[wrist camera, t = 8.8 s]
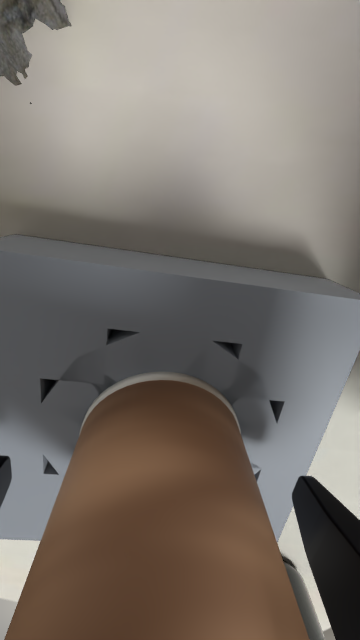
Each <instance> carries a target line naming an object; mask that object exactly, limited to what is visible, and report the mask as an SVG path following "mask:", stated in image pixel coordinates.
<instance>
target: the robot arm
mask: <svg viewBox="0 0 360 640" xmlns="http://www.w3.org/2000/svg"><path fill="white" fill-rule="evenodd" d="M11 480H12V470H11V460H10V457H9V456H4V455H0V508H1V506H2V503H3V501H4V498H5V496H6V493H7V491H8V489H9V486H10V483H11ZM292 502H293V506H294V509H295V513H296V517H297V521H298V525H299V529H300V533H301V537H302V541H303V545H304V548H305V552H306V555H307V558H308V561H309V564H310V567H311V570H312V573H313V576H314V579H315V582H316V584H317V587H318V590H319V593H320V596H321V599H322V602H323V605H324V607H325V610H326V613H327V616H328V619H329V622H330V625H331V627H332V630H333V633H334V636H335V639H336V640H360V520H359V519H358V518H357V517H356V516H355V515H354V514H353V513H351V512H350V511H349V510H348V509H347V508H346V507H345V506H344V505H343V504H342V503H341V502H340V501H339V500H338V499H336V498H335V497H334V496H333V495H332V494H331V493H330V492H329V491H328V490H327V489H326V488H325V487H324V486H323V485H322V484H320V483H319V482H318V481H317V480H316V479H315V478H314V477H312V476H300V477H299V478H298V480H297V482H296V484H295V487H294V489H293V492H292Z"/></svg>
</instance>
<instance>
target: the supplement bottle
mask: <svg viewBox="0 0 360 640" xmlns="http://www.w3.org/2000/svg"><path fill="white" fill-rule="evenodd" d="M283 562H284V561H283ZM284 565H285V568H286V571H287V574H288V577H289V580H290V583H291V586H292V589H293V592H294V595H295V598H296V601H297V604H298V607H299V610H300V613H301V616H302V619H303V622H304V625H305V628H306V631H307V634H308V637H309V640H325V637H324V635H323V632H322V629H321V626H320V623H319V620H318V618H317V615H316V612H315V609H314V606H313V604H312V601H311V598H310V596H309V593H308V590H307V588H306V585H305V583H304V580H303V578H302V577H301V575H300V574H299V573H298V571H297V570H296V569H295V568H293V567H292V566H291V565H289V564H288V563H286V562H284Z"/></svg>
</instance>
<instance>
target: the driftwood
mask: <svg viewBox="0 0 360 640" xmlns="http://www.w3.org/2000/svg"><path fill="white" fill-rule="evenodd" d="M35 18H36V19H38V20H39V21H41V22H43V23H44V24H46V25H47V26H48V27H49V28H51V29H52V30H53V29H56V30H58V29H61V28H64V27H67V26H71V23H70V22H69V20H68V17H67V14H66V11H65V6H64V5H62V3H61V2H60V0H0V76H5V77H6V78H7V79H8V80H9V81H10V82H11V83H13V84H14V85H20V84H21V83H20V81H19V79H18V78H17V76H16V73H17V71H18V72H20V73H22V74H23V76H24V78H26V77H27V74H26V72H25V68H27V67H29V61H30V59H31V56H32V54H31V53H29V52H28V51H27V48H26V45H25V42H24V39H23V36H22V33H24V32H26V31H27V30H28V29H30V28H31V27H33V22H34V20H35ZM30 104H32V103H31V102H30Z"/></svg>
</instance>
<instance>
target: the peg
mask: <svg viewBox="0 0 360 640" xmlns="http://www.w3.org/2000/svg"><path fill="white" fill-rule="evenodd" d="M4 640H309V637H308V634H307V631H306V628H305V625H304V622H303V619H302V616H301V613H300V610H299V607H298V604H297V601H296V598H295V595H294V592H293V589H292V586H291V583H290V580H289V577H288V574H287V571H286V568H285V565H284V562H283V559H282V556H281V553H280V550H279V547H278V544H277V541H276V538H275V535H274V532H273V529H272V526H271V523H270V520H269V517H268V514H267V511H266V508H265V505H264V502H263V499H262V496H261V493H260V490H259V487H258V484H257V481H256V478H255V475H254V472H253V469H252V466H251V463H250V460H249V457H248V454H247V451H246V448H245V445H244V442H243V439H242V436H241V430H240V426H239V423H238V420H237V417H236V414H235V412H234V410H233V408H232V406H231V404H230V403H229V401H228V400H227V399H226V398H225V396H224V395H223V394H222V393H221V392H220V391H218V390H217V389H216V388H214V387H213V386H212V385H210V384H208V383H206V382H205V381H203V380H200V379H198V378H196V377H193V376H189V375H186V374H182V373H175V372H148V373H143V374H138V375H135V376H131V377H128V378H126V379H123V380H121V381H119V382H117V383H115V384H114V385H112V386H110V387H109V388H107V389H106V390H105V391H104V392H102V393H101V394H100V395H99V396H98V397H97V398H96V399H95V400H94V402H93V403H92V405H91V406H90V407H89V409H88V411H87V413H86V415H85V418H84V420H83V423H82V426H81V429H80V433H79V438H78V441H77V444H76V446H75V449H74V452H73V455H72V457H71V460H70V463H69V465H68V468H67V471H66V474H65V476H64V479H63V482H62V484H61V487H60V490H59V493H58V495H57V498H56V501H55V503H54V506H53V509H52V512H51V514H50V517H49V520H48V522H47V525H46V528H45V531H44V533H43V536H42V539H41V541H40V544H39V547H38V550H37V552H36V555H35V558H34V560H33V563H32V566H31V569H30V571H29V574H28V577H27V579H26V582H25V585H24V588H23V590H22V593H21V596H20V598H19V601H18V604H17V607H16V609H15V612H14V615H13V617H12V620H11V623H10V626H9V628H8V631H7V634H6V636H5V639H4Z"/></svg>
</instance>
